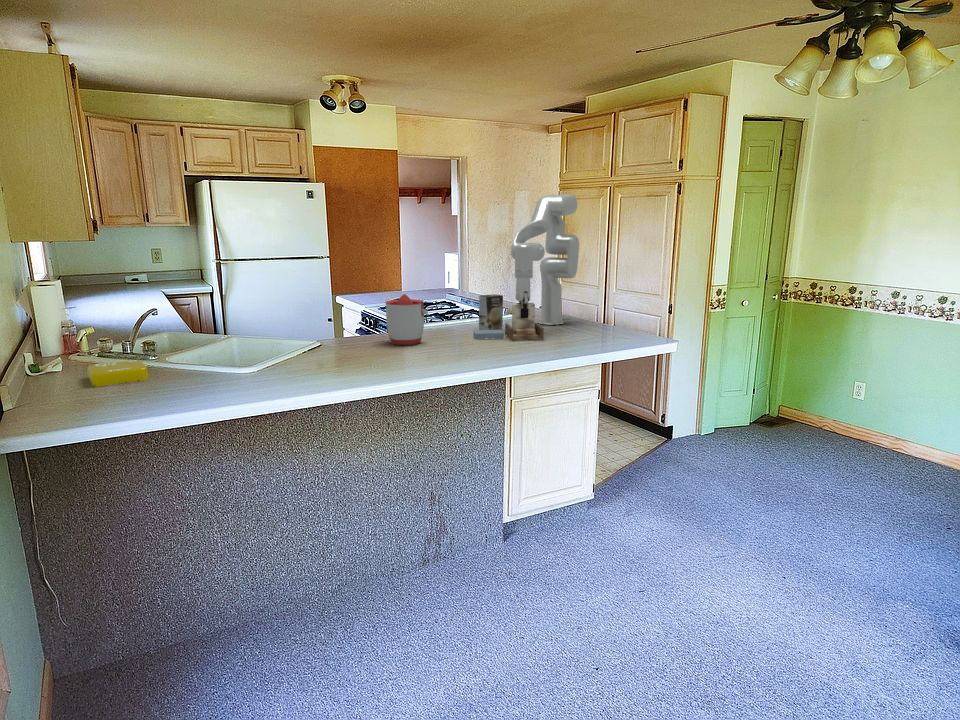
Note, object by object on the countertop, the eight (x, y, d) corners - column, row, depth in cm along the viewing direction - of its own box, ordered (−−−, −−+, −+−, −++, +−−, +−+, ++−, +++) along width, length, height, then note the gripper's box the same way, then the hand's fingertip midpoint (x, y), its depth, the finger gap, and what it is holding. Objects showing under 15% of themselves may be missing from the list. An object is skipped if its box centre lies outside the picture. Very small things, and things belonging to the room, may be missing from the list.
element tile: (93, 389, 178) (90, 373, 177) (89, 378, 190) (86, 364, 189) (149, 381, 187) (147, 366, 186) (142, 371, 199) (140, 357, 198)
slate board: (501, 335, 259) (501, 329, 258) (503, 338, 251) (503, 333, 250) (473, 335, 257) (473, 330, 257) (475, 339, 250) (475, 333, 249)
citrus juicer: (427, 347, 235) (426, 296, 231) (383, 346, 236) (381, 296, 231) (431, 339, 250) (430, 291, 246) (390, 339, 251) (388, 291, 246)
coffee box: (487, 332, 265) (487, 296, 261) (478, 330, 270) (478, 295, 266) (503, 330, 270) (503, 295, 267) (493, 328, 275) (494, 293, 272)
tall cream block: (532, 330, 259) (532, 302, 256) (534, 332, 255) (534, 304, 252) (512, 330, 258) (512, 303, 256) (513, 332, 254) (513, 304, 251)
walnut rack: (536, 334, 262) (536, 322, 260) (543, 340, 248) (543, 328, 247) (505, 334, 260) (505, 323, 259) (510, 341, 246) (510, 329, 245)
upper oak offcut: (533, 333, 253) (533, 328, 252) (535, 335, 249) (535, 330, 249) (514, 334, 252) (515, 328, 251) (516, 335, 248) (516, 330, 248)
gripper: (511, 272, 259) (511, 314, 263) (518, 276, 242) (518, 320, 247) (528, 272, 259) (528, 313, 264) (536, 276, 243) (535, 320, 247)
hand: (523, 316), depth 255 cm, fingers closed on tall cream block, 4 cm apart
